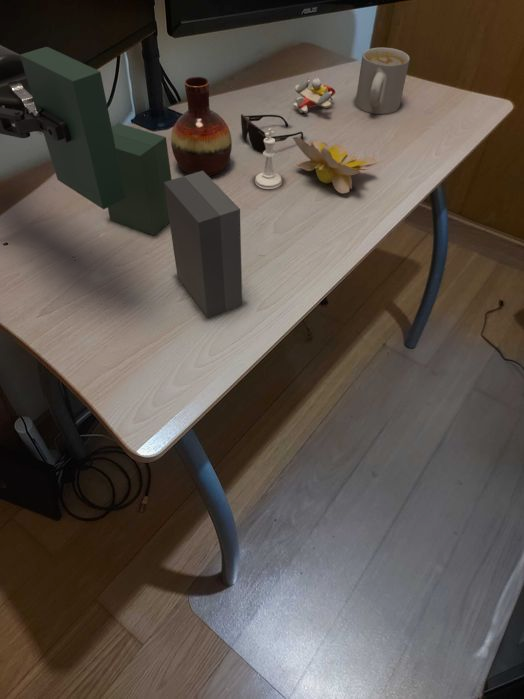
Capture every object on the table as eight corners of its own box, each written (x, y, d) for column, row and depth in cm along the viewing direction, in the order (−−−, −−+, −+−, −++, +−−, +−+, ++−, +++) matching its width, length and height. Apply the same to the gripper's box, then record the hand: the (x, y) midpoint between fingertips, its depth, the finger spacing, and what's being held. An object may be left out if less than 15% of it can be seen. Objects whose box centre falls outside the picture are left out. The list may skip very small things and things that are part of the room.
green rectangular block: (154, 236, 84) (140, 155, 74) (110, 220, 87) (90, 140, 76) (176, 216, 88) (166, 136, 77) (134, 201, 91) (118, 122, 80)
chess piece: (249, 180, 95) (249, 127, 88) (270, 172, 97) (272, 119, 90) (265, 192, 93) (266, 139, 85) (287, 183, 95) (290, 130, 87)
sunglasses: (232, 134, 106) (234, 109, 103) (280, 128, 112) (284, 104, 108) (258, 157, 100) (261, 132, 97) (308, 150, 106) (312, 125, 102)
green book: (103, 209, 59) (72, 81, 48) (57, 180, 62) (19, 54, 52) (125, 198, 60) (100, 71, 50) (79, 169, 64) (46, 46, 53)
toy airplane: (334, 102, 117) (338, 72, 112) (329, 120, 111) (333, 90, 106) (294, 98, 118) (296, 68, 113) (288, 116, 112) (289, 85, 107)
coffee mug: (366, 90, 121) (373, 44, 114) (406, 101, 118) (416, 53, 110) (341, 112, 114) (348, 64, 106) (383, 124, 111) (393, 75, 103)
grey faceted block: (207, 318, 72) (198, 222, 60) (177, 277, 78) (163, 181, 66) (242, 304, 74) (240, 208, 62) (210, 265, 80) (202, 170, 67)
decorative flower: (393, 176, 93) (392, 126, 85) (348, 210, 91) (342, 162, 83) (335, 149, 102) (330, 100, 94) (293, 179, 99) (283, 132, 91)
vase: (165, 159, 100) (154, 75, 88) (218, 146, 103) (213, 64, 92) (187, 187, 94) (177, 100, 82) (242, 173, 97) (240, 88, 85)
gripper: (-78, 61, 55) (10, 113, 48) (37, 29, 63) (128, 70, 55) (-48, 129, 61) (34, 185, 54) (54, 93, 68) (139, 137, 61)
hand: (82, 126), depth 55 cm, fingers closed on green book, 3 cm apart
